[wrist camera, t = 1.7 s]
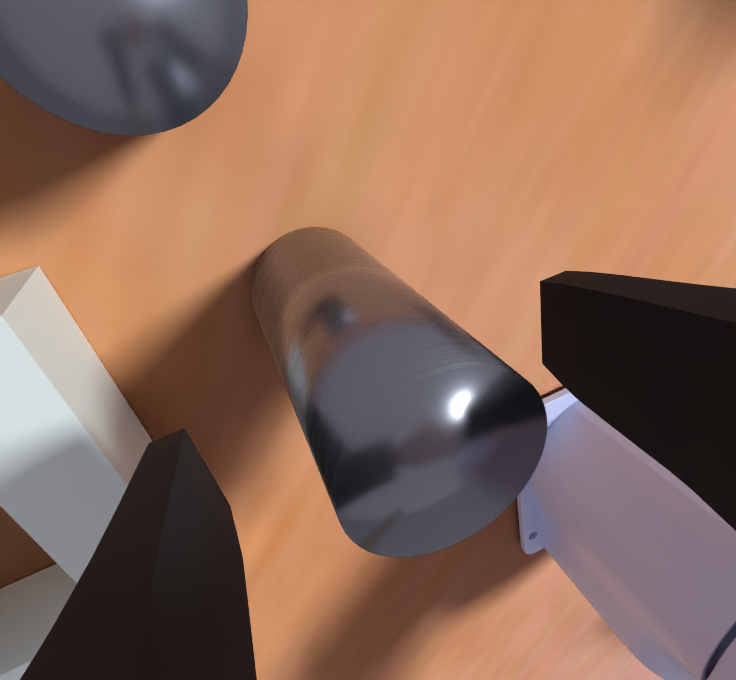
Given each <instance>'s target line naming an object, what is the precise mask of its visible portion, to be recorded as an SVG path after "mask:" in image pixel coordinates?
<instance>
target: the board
mask: <svg viewBox="0 0 736 680" xmlns="http://www.w3.org/2000/svg"><path fill="white" fill-rule="evenodd" d="M150 442H153V441H152V439H151V438H150V436H149V435H148V433H147V432H146V430H145V429H144V427H143V426H142V424H141V422H140V421H139V419H138V418H137V416H136V415H135V413H134V412H133V410H132V409H131V407H130V406H129V404H128V402H127V401H126V399H125V398H124V396H123V395H122V393H121V392H120V390H119V389H118V387H117V385H116V384H115V382H114V381H113V379H112V378H111V376H110V375H109V373H108V372H107V370H106V369H105V367H104V365H103V364H102V362H101V361H100V359H99V358H98V356H97V355H96V353H95V352H94V350H93V349H92V347H91V345H90V344H89V342H88V341H87V339H86V338H85V336H84V335H83V333H82V332H81V330H80V328H79V327H78V325H77V324H76V322H75V321H74V319H73V318H72V316H71V315H70V313H69V312H68V310H67V308H66V307H65V305H64V304H63V302H62V301H61V299H60V298H59V296H58V295H57V293H56V291H55V290H54V288H53V287H52V285H51V284H50V282H49V281H48V279H47V278H46V276H45V275H44V273H43V271H42V270H41V268H40V267H39V265H38V266H35V267H32V268H29V269H26V270H23V271H19V272H16V273H13V274H10V275H7V276H4V277H1V278H0V506H1V507H2V508H3V509H4V510H5V511H6V512H7V513H8V514H9V515H10V516H11V517H12V518H13V519H14V520H15V521H16V522H17V523H18V524H19V525H20V526H21V527H22V528H23V529H24V530H25V531H26V532H27V533H28V534H29V535H30V536H31V537H32V538H33V540H34V541H35V542H36V543H37V544H38V545H39V546H40V547H41V548H42V549H43V550H44V551H45V552H46V553H47V554H48V555H49V556H50V557H51V558H52V559H53V560H54V561H55V562H56V563H57V564H55V565H52V566H50V567H48V568H46V569H43V570H41V571H39V572H37V573H34V574H32V575H30V576H28V577H25V578H23V579H21V580H19V581H16V582H14V583H12V584H10V585H7V586H5V587H3V588H1V589H0V680H20V678H21V677H22V675H23V674H24V672H25V671H26V669H27V667H28V666H29V664H30V663H31V661H32V659H33V658H34V656H35V655H36V653H37V652H38V650H39V648H40V647H41V645H42V643H43V642H44V640H45V638H46V637H47V635H48V633H49V632H50V630H51V629H52V627H53V625H54V623H55V622H56V620H57V618H58V616H59V614H60V613H61V611H62V609H63V607H64V606H65V604H66V602H67V600H68V599H69V597H70V595H71V593H72V591H73V590H74V588H75V586H76V584H77V583H78V581H79V579H80V577H81V576H82V574H83V572H84V570H85V568H86V567H87V565H88V563H89V561H90V560H91V558H92V556H93V554H94V552H95V550H96V548H97V546H98V544H99V542H100V540H101V538H102V536H103V534H104V532H105V530H106V529H107V527H108V525H109V523H110V521H111V519H112V517H113V515H114V513H115V511H116V509H117V507H118V505H119V503H120V500H121V498H122V496H123V494H124V492H125V490H126V488H127V486H128V484H129V482H130V480H131V478H132V476H133V474H134V472H135V470H136V468H137V466H138V464H139V462H140V459H141V457H142V455H143V453H144V451H145V449H146V448H147V446H148V444H149V443H150Z"/></svg>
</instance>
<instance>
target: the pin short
mask: <svg viewBox="0 0 736 680" xmlns="http://www.w3.org/2000/svg"><path fill="white" fill-rule="evenodd" d="M247 18H248V7H247V0H0V77H1V78H2V79H3V80H5V81H6V82H7V83H8V84H9V85H10V86H12V87H13V88H14V89H15V90H16V91H17V92H19V93H20V94H22V95H23V96H24V97H26V98H27V99H29V100H30V101H32V102H33V103H34V104H36V105H37V106H39V107H41V108H43V109H44V110H46V111H48V112H50V113H52V114H53V115H55V116H57V117H59V118H61V119H64V120H66V121H68V122H71V123H73V124H75V125H78V126H81V127H85V128H88V129H91V130H94V131H99V132H104V133H110V134H116V135H132V136H134V135H148V134H154V133H159V132H164V131H168V130H171V129H173V128H176V127H179V126H182V125H183V124H185V123H187V122H189V121H191V120H193V119H194V118H196V117H197V116H199V115H200V114H201V113H203V112H204V111H205V110H207V109H208V108H209V107H210V106H211V105H212V104H213V103H214V102H215V101H216V100H217V99H218V98H219V97H220V95H221V94H222V92H223V91H224V90H225V88H226V87H227V85H228V84H229V82H230V80H231V78H232V76H233V74H234V72H235V70H236V68H237V66H238V63H239V60H240V57H241V54H242V51H243V46H244V42H245V37H246V29H247Z"/></svg>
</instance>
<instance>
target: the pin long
mask: <svg viewBox="0 0 736 680" xmlns="http://www.w3.org/2000/svg"><path fill="white" fill-rule="evenodd" d="M251 300H252V305H253V308H254V311H255V313H256V316H257V318H258V321H259V323H260V326H261V328H262V331H263V333H264V336H265V338H266V340H267V343H268V345H269V348H270V350H271V353H272V355H273V358H274V360H275V363H276V365H277V368H278V370H279V373H280V375H281V378H282V380H283V383H284V385H285V388H286V390H287V393H288V395H289V398H290V400H291V403H292V405H293V408H294V410H295V412H296V415H297V417H298V420H299V422H300V425H301V427H302V430H303V432H304V435H305V437H306V440H307V442H308V445H309V447H310V450H311V452H312V455H313V457H314V460H315V462H316V465H317V467H318V470H319V472H320V475H321V477H322V480H323V482H324V484H325V487H326V489H327V492H328V494H329V497H330V499H331V502H332V504H333V507H334V509H335V512H336V514H337V517H338V519H339V522H340V524H341V526H342V528H343V530H344V531H345V533H346V534H347V535H348V537H349V538H350V539H351V540H352V541H353V542H354V543H356V544H357V545H358V546H359V547H361V548H363V549H365V550H367V551H368V552H371V553H374V554H377V555H381V556H387V557H399V558H403V557H415V556H421V555H426V554H430V553H433V552H437V551H440V550H443V549H445V548H448V547H451V546H453V545H455V544H457V543H459V542H461V541H463V540H465V539H467V538H468V537H470V536H472V535H474V534H475V533H477V532H478V531H480V530H481V529H483V528H484V527H486V526H487V525H488V524H489V523H491V522H492V521H493V520H494V519H496V518H497V517H498V516H499V515H500V514H501V513H502V512H503V511H505V510H506V509H507V508H508V506H509V505H510V504H511V503H512V502H513V501H514V500H515V499H516V498H517V496H518V495H519V494H520V493H521V491H522V490H523V489H524V487H525V486H526V484H527V483H528V481H529V480H530V478H531V477H532V475H533V473H534V471H535V469H536V468H537V465H538V463H539V461H540V458H541V456H542V453H543V449H544V446H545V442H546V436H547V414H546V410H545V406H544V402H543V400H542V398H541V396H540V394H539V393H538V392H537V390H536V389H535V388H534V386H533V385H532V384H531V383H529V382H528V381H527V380H526V379H525V378H523V377H522V376H521V375H520V374H518V373H517V372H516V371H515V370H513V369H512V368H511V367H510V366H508V365H507V364H506V363H505V362H503V361H502V360H501V359H500V358H499V357H497V356H496V355H495V354H494V353H492V352H491V351H490V350H489V349H487V348H486V347H485V346H484V345H482V344H481V343H480V342H479V341H477V340H476V339H475V338H474V337H472V336H471V335H470V334H469V333H467V332H466V331H465V330H464V329H462V328H461V327H460V326H459V325H457V324H456V323H455V322H454V321H452V320H451V319H450V318H449V317H447V316H446V315H445V314H444V313H442V312H441V311H440V310H439V309H437V308H436V307H435V306H434V305H432V304H431V303H430V302H429V301H427V300H426V299H425V298H424V297H422V296H421V295H420V294H419V293H417V292H416V291H415V290H414V289H412V288H411V287H410V286H409V285H407V284H406V283H405V282H404V281H402V280H401V279H400V278H399V277H397V276H396V275H395V274H394V273H392V272H391V271H390V270H389V269H387V268H386V267H385V266H384V265H382V264H381V263H380V262H379V261H377V260H376V259H375V258H374V257H372V256H371V255H370V254H369V253H367V252H366V251H365V250H364V249H362V248H361V247H360V246H359V245H357V244H356V243H355V242H354V241H352V240H351V239H350V238H349V237H347V236H345V235H344V234H342V233H340V232H338V231H335V230H332V229H328V228H321V227H310V228H303V229H299V230H295V231H293V232H290V233H288V234H286V235H284V236H282V237H281V238H279V239H278V240H276V241H275V242H274V243H273V244H272V245H271V246H270V247H269V248H268V249H267V250H266V251H265V252H264V253H263V255H262V256H261V257H260V259H259V261H258V263H257V265H256V267H255V269H254V272H253V276H252V280H251Z"/></svg>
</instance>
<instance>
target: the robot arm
mask: <svg viewBox="0 0 736 680" xmlns="http://www.w3.org/2000/svg"><path fill="white" fill-rule="evenodd" d="M540 297H541V332H542V363H543V365H544V366H545V367H546V368H547V369H548V370H549V371H550V372H551V373H552V374H553V375H554V376H555V377H556V379H557V380H558V381H559V382H560V383H561V384H562V385H563V386H564V387H565V389H563V390H560V391H558V392H556V393H554V394H552V395H550V396H548V397H546V398H543V399H542V400H543V402H544V406H545V410H546V414H547V436H546V442H545V446H544V449H543V453H542V456H541V458H540V461H539V463H538V465H537V468H536V469H535V471H534V473H533V475H532V477H531V478H530V480H529V481H528V483H527V484H526V486H525V487H524V489H523V490H522V491H521V493H520V494H519V495H518V496H517V503H518V515H519V527H520V539H521V547H522V549H523V551H524V552H525V553H526V554H533V553H535V552H537V551H539V550H541V549H543V548H545V549H546V551H547V552H548V553H549V554H550V555H551V557H552V558H553V559H554V560H555V562H556V563H557V564H558V565H559V566H560V568H561V569H562V570H563V571H564V572H565V574H566V575H567V576H568V577H569V578H570V580H571V581H572V582H573V583H574V584H575V586H576V587H577V588H578V589H579V591H580V592H581V593H582V594H583V595H584V597H585V598H586V599H587V600H588V601H589V603H590V604H591V605H592V606H593V607H594V609H595V610H596V611H597V612H598V614H599V615H600V616H601V617H602V618H603V620H604V621H605V622H606V623H607V624H608V626H609V627H610V628H611V629H612V630H613V632H614V633H615V634H616V635H617V636H618V638H619V639H620V640H621V641H622V643H623V644H624V645H625V646H626V647H627V649H628V650H629V651H630V652H631V653H632V654H633V655H634V656H635V657H636V658H637V659H638V660H639V661H640V662H641V663H642V664H643V665H645V666H646V667H647V668H648V669H650V670H651V671H653V672H654V673H655V674H657V675H659V676H660V677H662V678H663V679H665V680H736V288H726V287H716V286H707V285H698V284H689V283H681V282H672V281H664V280H656V279H648V278H640V277H632V276H624V275H615V274H606V273H595V272H582V271H564V272H562V273H559V274H557V275H555V276H552V277H550V278H547V279H545V280H542V281H540ZM20 680H257V678H256V669H255V661H254V652H253V643H252V634H251V625H250V616H249V607H248V598H247V590H246V581H245V573H244V565H243V557H242V553H241V549H240V544H239V540H238V536H237V532H236V528H235V524H234V520H233V516H232V512H231V508H230V505H229V503H228V501H227V500H226V498H225V496H224V494H223V493H222V491H221V489H220V488H219V486H218V484H217V483H216V481H215V479H214V478H213V476H212V474H211V472H210V471H209V469H208V467H207V466H206V464H205V462H204V461H203V459H202V457H201V455H200V454H199V452H198V450H197V449H196V447H195V445H194V444H193V442H192V440H191V438H190V437H189V435H188V433H187V432H186V430H185V428H184V429H182V430H179V431H177V432H175V433H172V434H170V435H167V436H165V437H162V438H160V439H158V440H155V441H153V442H150V443H149V444H148V446H147V448H146V449H145V451H144V453H143V455H142V457H141V459H140V462H139V464H138V466H137V468H136V470H135V472H134V474H133V476H132V478H131V480H130V482H129V484H128V486H127V488H126V490H125V492H124V494H123V496H122V498H121V500H120V503H119V505H118V507H117V509H116V511H115V513H114V515H113V517H112V519H111V521H110V523H109V525H108V527H107V529H106V530H105V532H104V534H103V536H102V538H101V540H100V542H99V544H98V546H97V548H96V550H95V552H94V554H93V556H92V558H91V560H90V561H89V563H88V565H87V567H86V568H85V570H84V572H83V574H82V576H81V577H80V579H79V581H78V583H77V584H76V586H75V588H74V590H73V591H72V593H71V595H70V597H69V599H68V600H67V602H66V604H65V606H64V607H63V609H62V611H61V613H60V614H59V616H58V618H57V620H56V622H55V623H54V625H53V627H52V629H51V630H50V632H49V633H48V635H47V637H46V638H45V640H44V642H43V643H42V645H41V647H40V648H39V650H38V652H37V653H36V655H35V656H34V658H33V659H32V661H31V663H30V664H29V666H28V667H27V669H26V671H25V672H24V674H23V675H22V677H21V678H20Z"/></svg>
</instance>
